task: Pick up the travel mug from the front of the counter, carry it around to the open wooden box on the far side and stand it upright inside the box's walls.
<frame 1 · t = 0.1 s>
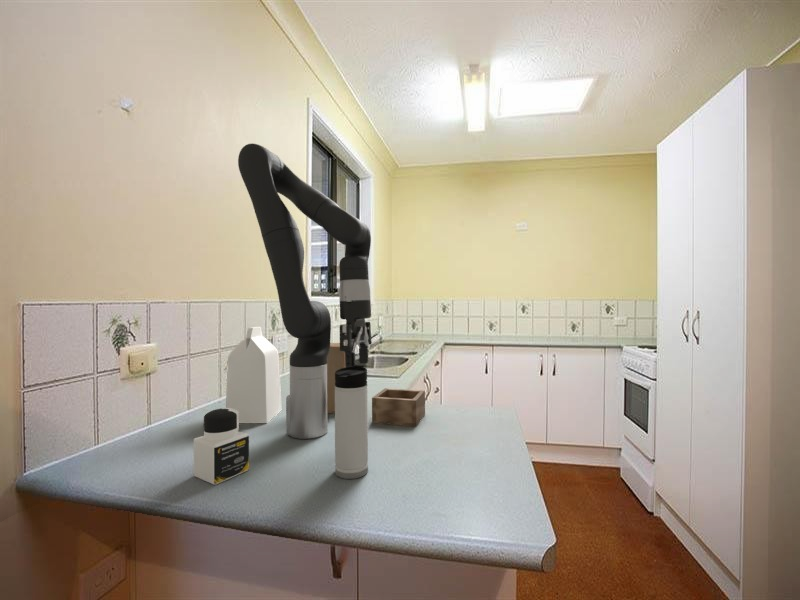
hand: (357, 365, 88), 17 cm above the countertop, tool pointing down, fingers open, 8 cm apart
medicine bottle: (221, 474, 69), on the countertop
milk: (254, 417, 105), on the countertop
wooden block: (334, 409, 112), on the countertop
open wooden box: (399, 418, 103), on the countertop
travel mug: (352, 472, 70), on the countertop
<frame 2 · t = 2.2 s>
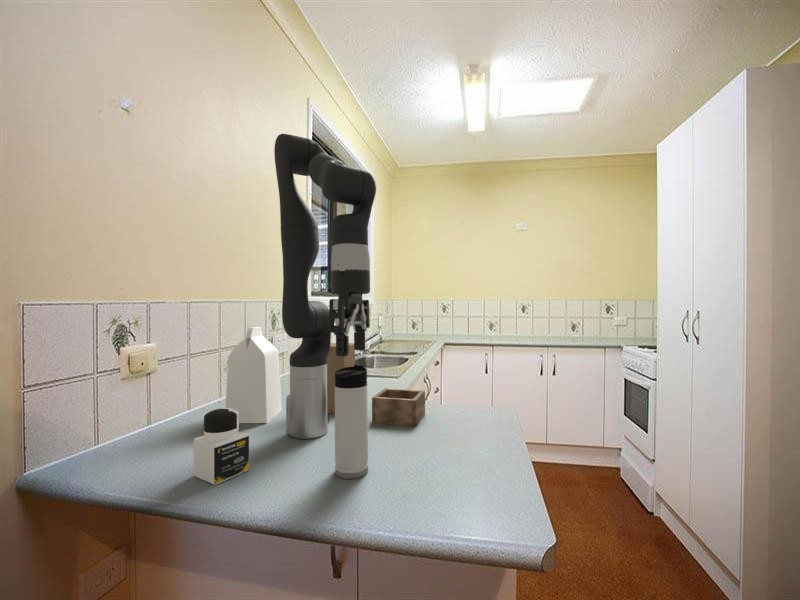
hand: (351, 353, 70), 23 cm above the countertop, tool pointing down, fingers open, 8 cm apart
nothing on the countertop moved.
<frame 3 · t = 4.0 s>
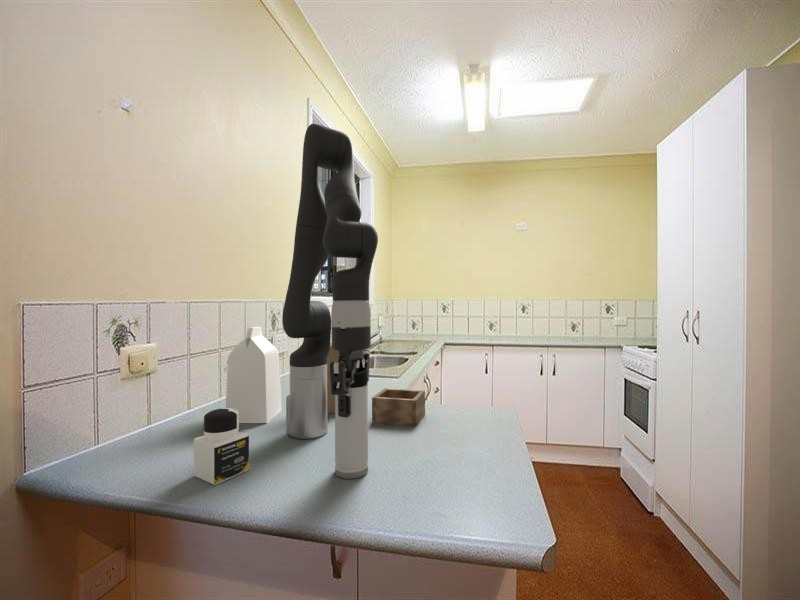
hand: (351, 410, 70), 12 cm above the countertop, tool pointing down, fingers closed on travel mug, 6 cm apart
travel mug: (352, 472, 70), on the countertop, touching gripper
everything else where it was.
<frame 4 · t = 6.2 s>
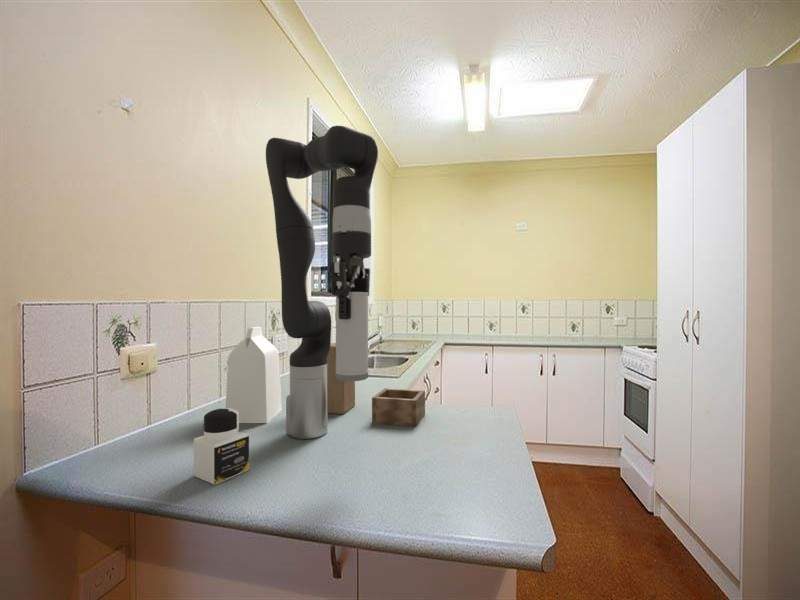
hand: (352, 318, 71), 30 cm above the countertop, tool pointing down, fingers closed on travel mug, 6 cm apart
travel mug: (352, 379, 71), point 18 cm above the countertop, touching gripper
everything else where it was.
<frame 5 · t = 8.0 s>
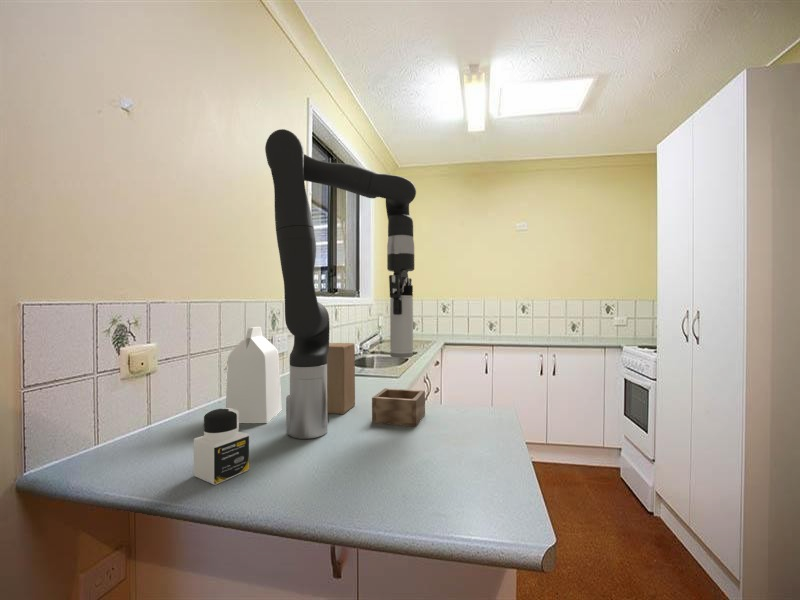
hand: (401, 314, 100), 30 cm above the countertop, tool pointing down, fingers closed on travel mug, 6 cm apart
travel mug: (402, 356, 100), point 18 cm above the countertop, touching gripper
everything else where it was.
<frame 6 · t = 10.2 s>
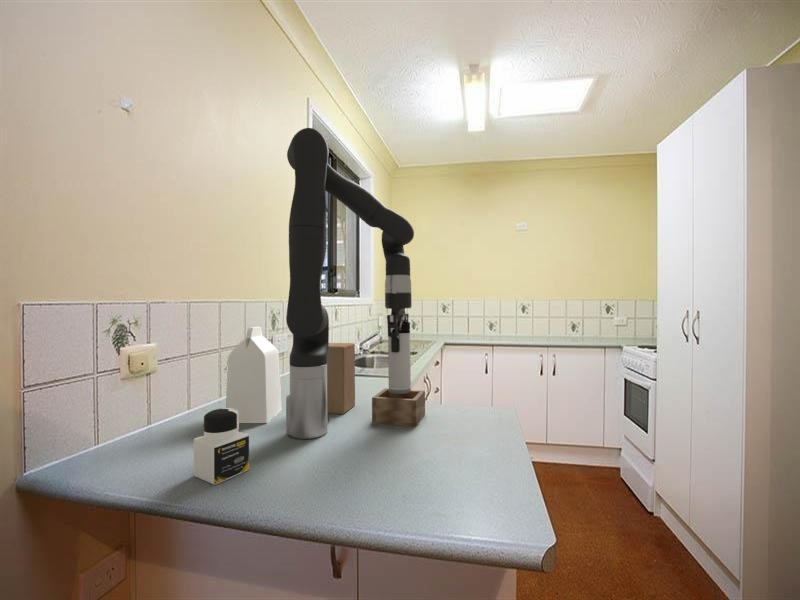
hand: (398, 350, 103), 19 cm above the countertop, tool pointing down, fingers closed on travel mug, 6 cm apart
travel mug: (399, 392, 103), point 7 cm above the countertop, touching gripper
everything else where it was.
when the fingers open (14 cm above the countertop, at t = 12.3 s): travel mug drops 1 cm, resting on open wooden box.
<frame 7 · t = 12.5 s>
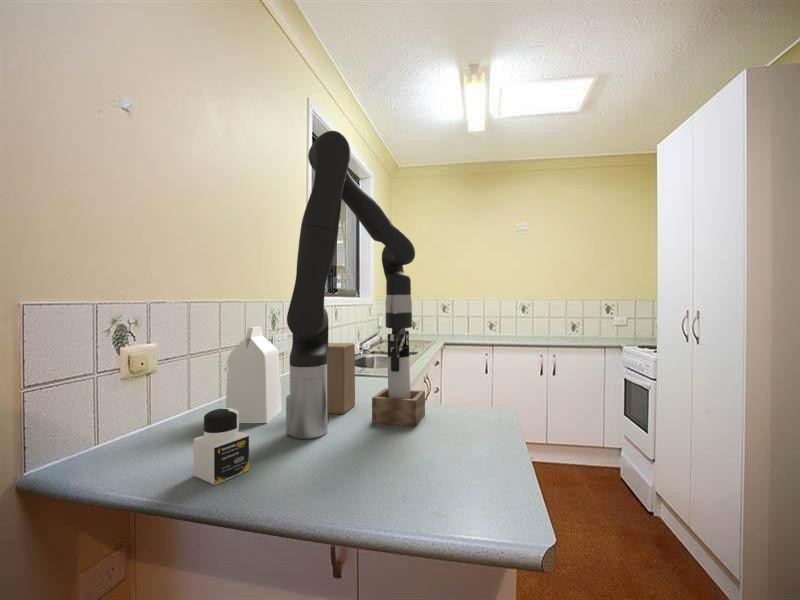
hand: (399, 368, 103), 14 cm above the countertop, tool pointing down, fingers open, 7 cm apart
travel mug: (399, 415, 103), point 1 cm above the countertop, touching open wooden box
everything else where it was.
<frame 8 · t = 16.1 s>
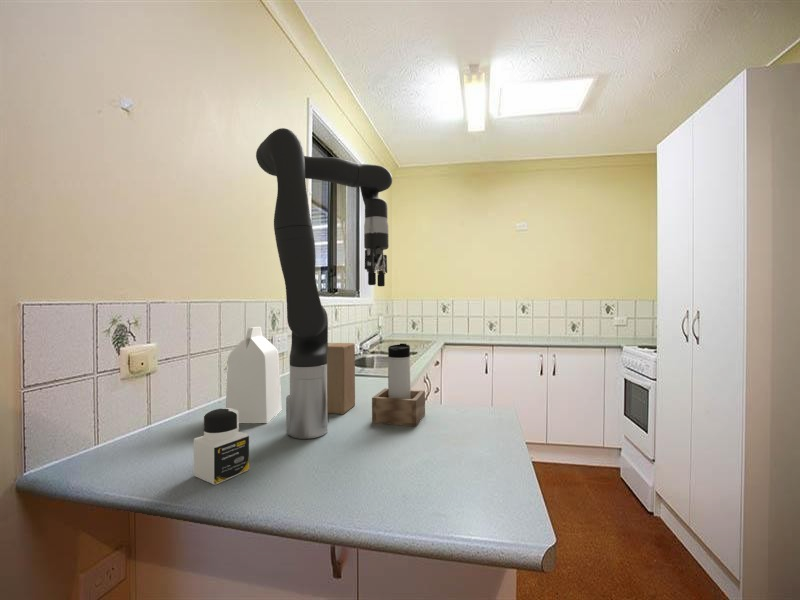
hand: (376, 285, 112), 38 cm above the countertop, tool pointing down, fingers open, 8 cm apart
nothing on the countertop moved.
at the end: travel mug 0.2 cm off-centre on the open wooden box, point 0.6 cm above the open wooden box's base; travel mug tilted 0°; the gripper is holding nothing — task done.
